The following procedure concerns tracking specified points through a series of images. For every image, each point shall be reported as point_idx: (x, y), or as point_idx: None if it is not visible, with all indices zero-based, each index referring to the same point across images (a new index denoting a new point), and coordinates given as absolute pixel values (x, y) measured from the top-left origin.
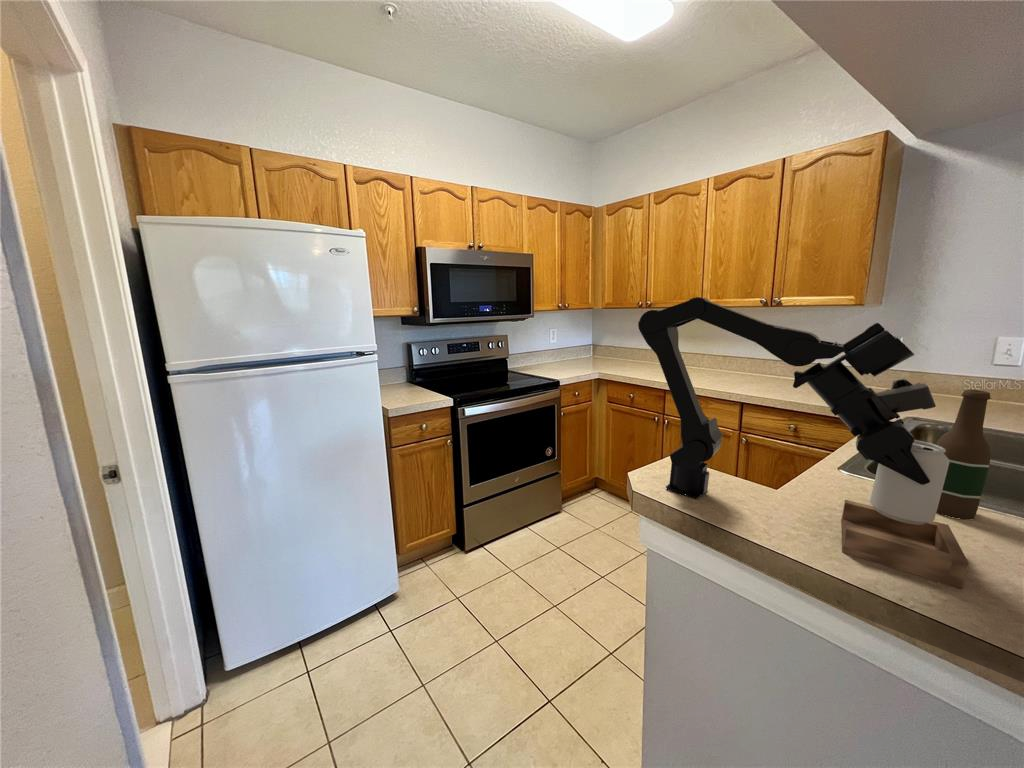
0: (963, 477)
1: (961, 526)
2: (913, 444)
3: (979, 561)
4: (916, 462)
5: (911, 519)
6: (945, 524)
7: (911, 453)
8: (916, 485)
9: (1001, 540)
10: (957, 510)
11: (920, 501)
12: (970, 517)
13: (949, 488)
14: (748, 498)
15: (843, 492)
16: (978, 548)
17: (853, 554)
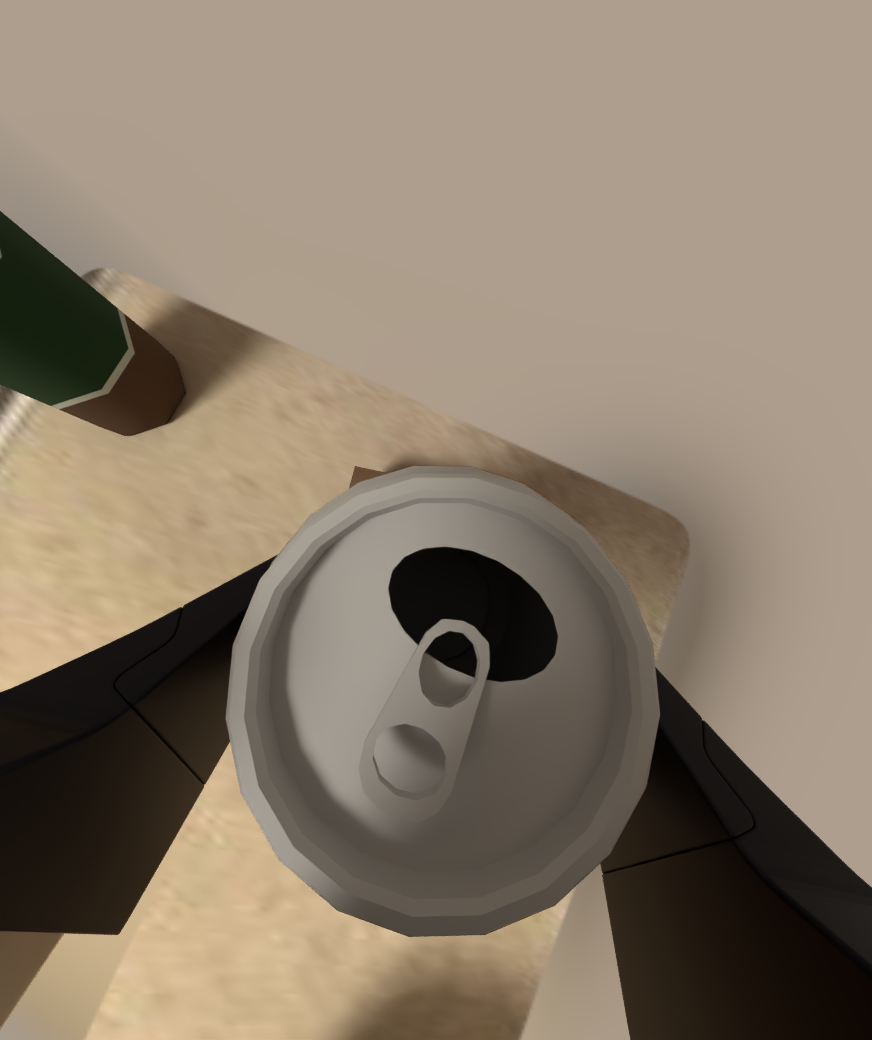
0: (58, 310)
1: (228, 400)
2: (421, 693)
3: (400, 441)
4: (710, 732)
5: (509, 601)
6: (355, 471)
7: (831, 851)
8: (555, 630)
9: (271, 356)
10: (168, 381)
11: (529, 596)
12: (175, 363)
13: (100, 366)
14: (286, 919)
15: (108, 608)
16: (336, 416)
17: None
